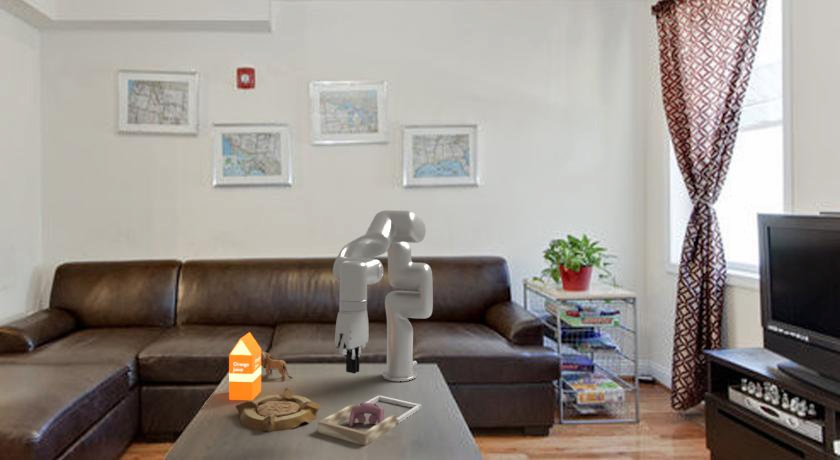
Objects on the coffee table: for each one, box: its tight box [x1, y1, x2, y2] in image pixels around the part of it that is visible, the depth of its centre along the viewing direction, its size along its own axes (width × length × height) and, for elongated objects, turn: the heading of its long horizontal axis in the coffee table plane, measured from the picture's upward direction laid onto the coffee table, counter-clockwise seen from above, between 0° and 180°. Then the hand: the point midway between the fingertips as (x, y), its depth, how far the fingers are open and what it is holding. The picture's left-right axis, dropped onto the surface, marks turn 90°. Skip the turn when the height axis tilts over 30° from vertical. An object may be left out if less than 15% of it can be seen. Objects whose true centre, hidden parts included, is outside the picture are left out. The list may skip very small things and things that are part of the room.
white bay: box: [364, 394, 422, 424], centre depth 167 cm, size 14×16×1 cm
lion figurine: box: [261, 350, 293, 382], centre depth 197 cm, size 15×5×9 cm, turn 71°
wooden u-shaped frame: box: [317, 403, 397, 447], centre depth 153 cm, size 15×16×3 cm
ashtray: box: [235, 387, 321, 433], centre depth 162 cm, size 24×24×5 cm
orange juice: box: [228, 331, 262, 401], centre depth 178 cm, size 8×9×20 cm
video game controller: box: [348, 402, 385, 428], centre depth 157 cm, size 10×5×7 cm, turn 84°
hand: (352, 371), depth 150 cm, fingers closed
